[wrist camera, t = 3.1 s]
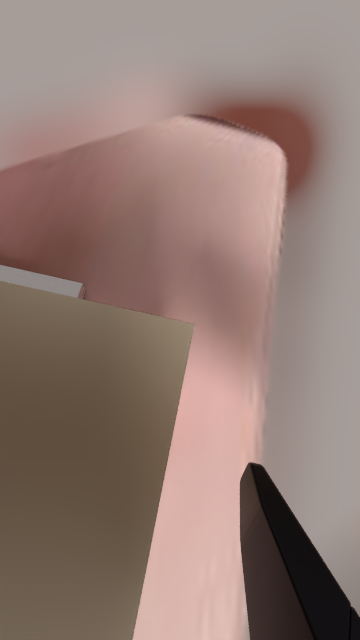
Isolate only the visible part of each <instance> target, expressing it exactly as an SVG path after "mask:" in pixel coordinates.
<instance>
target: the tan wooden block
mask: <svg viewBox="0 0 360 640" xmlns="http://www.w3.org/2000/svg"><path fill="white" fill-rule="evenodd" d="M193 328H194V324H192V323H188V322H183V321H179V320H174V319H170V318H165V317H161V316H156V315H152V314H147V313H143V312H138V311H134V310H129V309H125V308H120V307H116V306H111V305H107V304H102V303H98V302H93V301H89V300H84V299H80V298H75V297H71V296H66V295H62V294H57V293H53V292H48V291H44V290H39V289H35V288H30V287H26V286H21V285H17V284H12V283H8V282H3V281H0V640H132V639H133V634H134V629H135V624H136V618H137V613H138V608H139V603H140V598H141V593H142V588H143V583H144V578H145V573H146V568H147V562H148V557H149V552H150V547H151V542H152V537H153V532H154V527H155V522H156V517H157V512H158V506H159V501H160V496H161V491H162V486H163V481H164V476H165V471H166V466H167V461H168V455H169V450H170V445H171V440H172V435H173V430H174V425H175V420H176V415H177V410H178V405H179V399H180V394H181V389H182V384H183V379H184V374H185V369H186V364H187V359H188V354H189V349H190V343H191V338H192V333H193Z"/></svg>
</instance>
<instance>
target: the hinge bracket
mask: <svg viewBox="0 0 360 640" xmlns="http://www.w3.org/2000/svg"><path fill="white" fill-rule="evenodd" d="M0 281H3V282H8V283H12V284H17V285H21V286H26V287H30V288H35V289H39V290H44V291H48V292H53V293H57V294H62V295H66V296H71V297H75V298H80V299H83V297H84V295H85V292H86V289H85V287H84V285H83V283H79V282H75V281H70V280H66V279H61V278H57V277H52V276H48V275H43V274H39V273H34V272H30V271H25V270H21V269H17V268H12V267H8V266H3V265H0Z"/></svg>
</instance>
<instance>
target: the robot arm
mask: <svg viewBox="0 0 360 640" xmlns="http://www.w3.org/2000/svg"><path fill="white" fill-rule="evenodd" d="M240 542H241V554H242V564H243V574H244V583H245V593H246V603H247V613H248V622H249V632H250V640H360V617H359V615H358V614H357V612H356V611H355V609H354V608H353V607H352V606H351V604H350V601H349V600H348V598H347V597H346V595H345V594H344V592H343V590H342V589H341V587H340V586H339V584H338V583H337V581H336V579H335V578H334V576H333V575H332V573H331V572H330V570H329V569H328V567H327V565H326V564H325V562H324V561H323V559H322V558H321V556H320V555H319V553H318V551H317V550H316V548H315V547H314V545H313V544H312V542H311V540H310V539H309V537H308V536H307V534H306V533H305V531H304V529H303V528H302V526H301V525H300V523H299V522H298V520H297V519H296V517H295V515H294V514H293V512H292V511H291V509H290V508H289V506H288V504H287V503H286V501H285V500H284V498H283V497H282V495H281V493H280V492H279V490H278V489H277V487H276V486H275V484H274V482H273V481H272V479H271V478H270V476H269V475H268V473H267V472H266V470H265V468H264V467H263V466H262V465H260V464H256V463H252V462H250V463H248V465H247V467H246V469H245V471H244V473H243V475H242V477H241V480H240Z"/></svg>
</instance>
